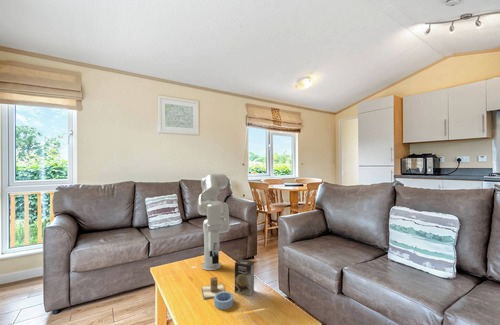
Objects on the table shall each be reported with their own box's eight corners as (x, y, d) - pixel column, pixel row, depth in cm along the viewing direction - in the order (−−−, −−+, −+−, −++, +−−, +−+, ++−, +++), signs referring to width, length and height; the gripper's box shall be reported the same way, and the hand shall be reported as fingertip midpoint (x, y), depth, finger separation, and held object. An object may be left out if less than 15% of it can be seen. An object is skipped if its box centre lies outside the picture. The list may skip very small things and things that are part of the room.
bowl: (213, 301, 117) (213, 293, 117) (230, 298, 119) (230, 290, 119) (215, 312, 108) (215, 303, 108) (235, 308, 111) (235, 300, 111)
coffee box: (234, 293, 123) (234, 263, 123) (238, 287, 130) (238, 258, 130) (250, 297, 120) (250, 265, 120) (254, 290, 126) (254, 260, 126)
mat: (201, 288, 128) (201, 287, 128) (223, 285, 132) (223, 284, 132) (203, 301, 117) (203, 299, 117) (227, 297, 120) (227, 295, 120)
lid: (202, 287, 128) (202, 275, 128) (222, 284, 131) (222, 272, 131) (204, 299, 117) (204, 285, 117) (226, 295, 121) (226, 282, 121)
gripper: (205, 223, 131) (205, 254, 131) (209, 232, 115) (208, 267, 115) (218, 222, 134) (218, 253, 133) (224, 231, 117) (224, 265, 117)
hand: (214, 259), depth 124 cm, fingers open, 9 cm apart
